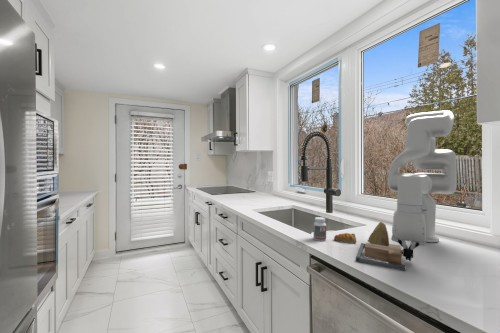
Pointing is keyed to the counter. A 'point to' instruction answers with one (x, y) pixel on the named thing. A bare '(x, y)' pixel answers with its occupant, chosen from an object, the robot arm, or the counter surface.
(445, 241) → the counter surface
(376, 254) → the t block
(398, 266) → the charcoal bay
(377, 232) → the rock
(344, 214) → the counter surface
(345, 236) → the pastry
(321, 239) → the pill bottle
